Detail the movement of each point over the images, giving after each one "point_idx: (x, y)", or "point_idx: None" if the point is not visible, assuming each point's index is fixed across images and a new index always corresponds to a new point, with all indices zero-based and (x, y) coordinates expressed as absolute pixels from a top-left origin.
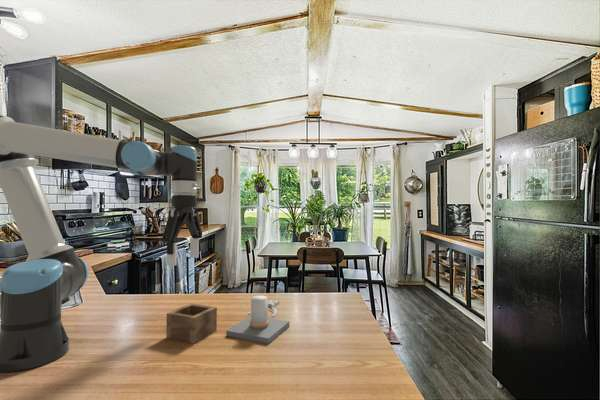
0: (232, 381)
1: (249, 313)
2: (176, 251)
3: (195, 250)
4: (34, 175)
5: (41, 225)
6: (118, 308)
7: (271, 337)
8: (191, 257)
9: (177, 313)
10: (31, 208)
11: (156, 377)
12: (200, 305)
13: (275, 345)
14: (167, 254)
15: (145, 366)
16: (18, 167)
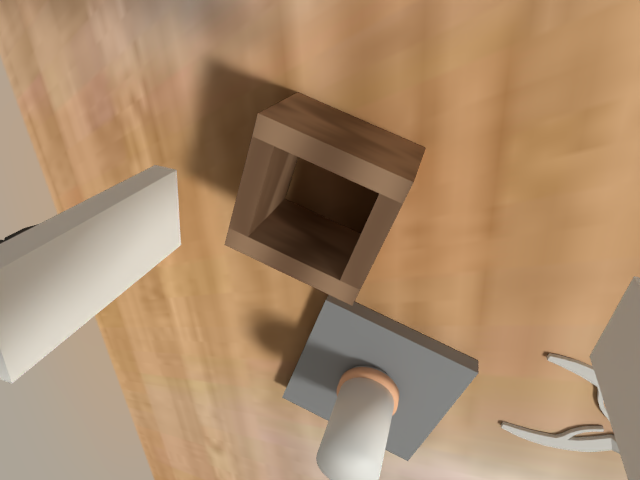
0: (126, 315)
1: (549, 360)
2: (91, 314)
3: (628, 405)
4: None
5: None
6: None
7: (297, 402)
8: (626, 293)
9: (262, 164)
10: None
11: (92, 167)
12: (379, 236)
13: (282, 398)
14: (80, 209)
15: (121, 116)
16: None
